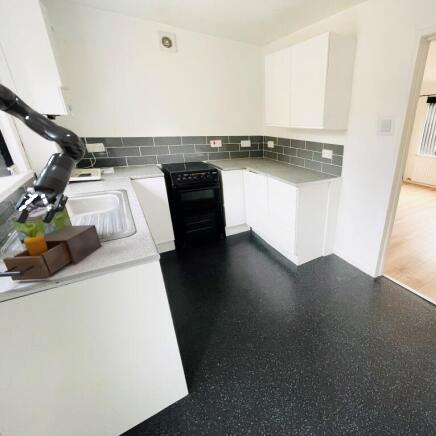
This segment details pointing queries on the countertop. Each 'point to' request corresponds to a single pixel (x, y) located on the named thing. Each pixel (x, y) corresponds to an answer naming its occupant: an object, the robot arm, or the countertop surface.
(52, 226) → the tea box
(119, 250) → the countertop surface
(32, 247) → the carrot
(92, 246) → the cabinet
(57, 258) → the drawer
